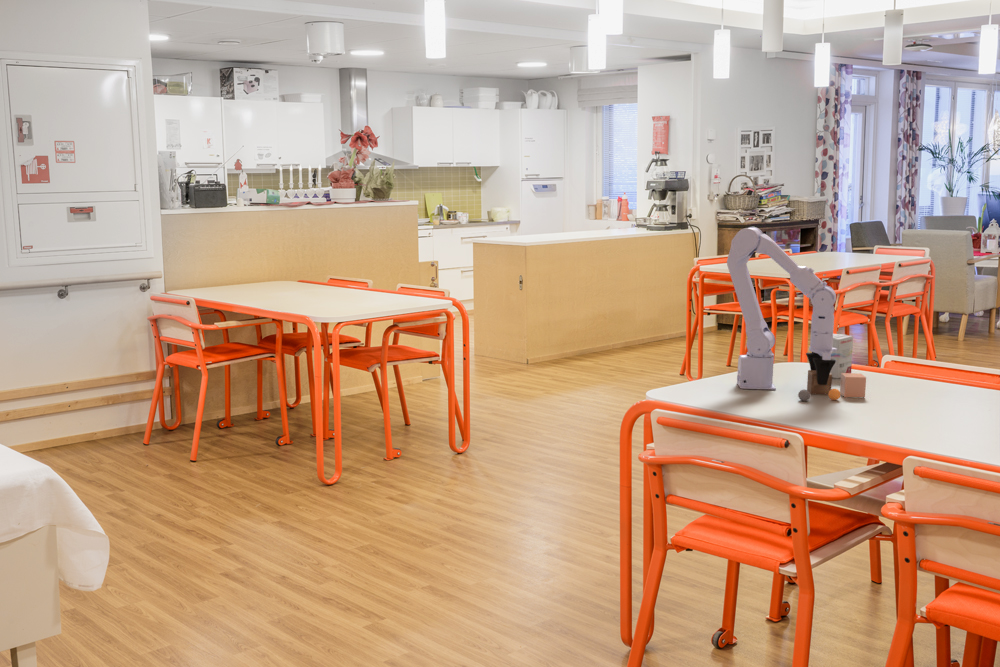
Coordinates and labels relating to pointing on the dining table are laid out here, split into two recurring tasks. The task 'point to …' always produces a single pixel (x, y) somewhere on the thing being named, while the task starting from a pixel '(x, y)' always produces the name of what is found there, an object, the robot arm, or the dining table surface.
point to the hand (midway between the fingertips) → (819, 381)
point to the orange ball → (834, 394)
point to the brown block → (813, 384)
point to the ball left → (804, 395)
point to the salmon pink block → (852, 385)
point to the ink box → (842, 354)
